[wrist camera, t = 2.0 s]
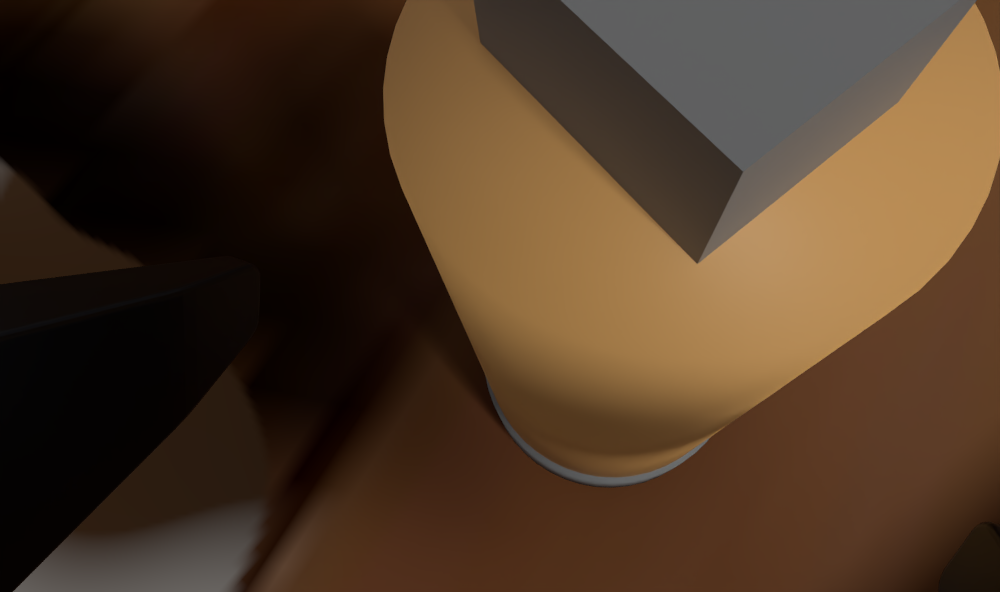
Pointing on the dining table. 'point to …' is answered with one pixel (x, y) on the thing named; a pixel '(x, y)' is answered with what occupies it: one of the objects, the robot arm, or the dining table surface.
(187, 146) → the dining table surface
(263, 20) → the dining table surface
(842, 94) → the housing
